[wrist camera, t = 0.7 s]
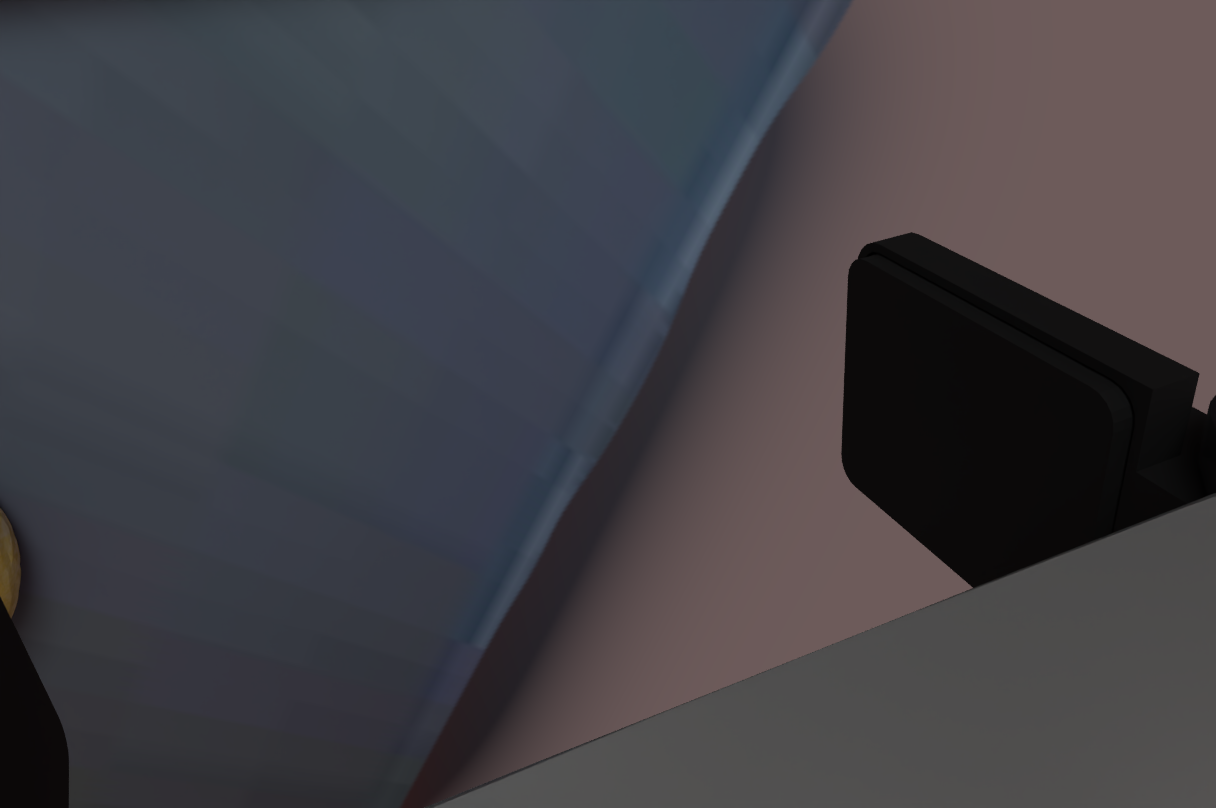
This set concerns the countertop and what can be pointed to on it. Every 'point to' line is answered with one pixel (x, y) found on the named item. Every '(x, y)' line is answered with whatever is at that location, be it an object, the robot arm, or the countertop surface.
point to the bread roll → (9, 565)
